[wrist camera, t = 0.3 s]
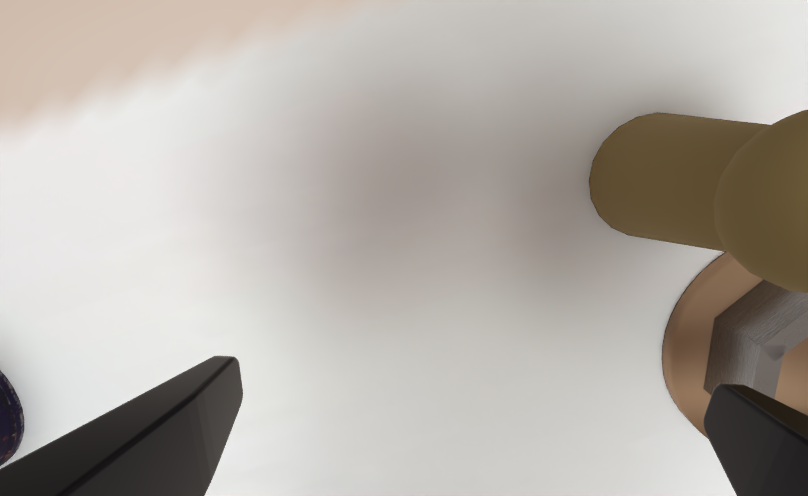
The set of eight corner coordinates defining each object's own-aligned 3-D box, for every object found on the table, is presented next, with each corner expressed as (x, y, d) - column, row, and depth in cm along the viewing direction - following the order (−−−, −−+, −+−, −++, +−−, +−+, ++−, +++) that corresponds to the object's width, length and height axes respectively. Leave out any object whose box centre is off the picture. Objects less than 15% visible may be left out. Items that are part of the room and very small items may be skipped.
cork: (675, 84, 19) (979, 10, 9) (740, 186, 20) (1087, 232, 10) (564, 167, 21) (714, 191, 10) (631, 260, 21) (834, 374, 11)
